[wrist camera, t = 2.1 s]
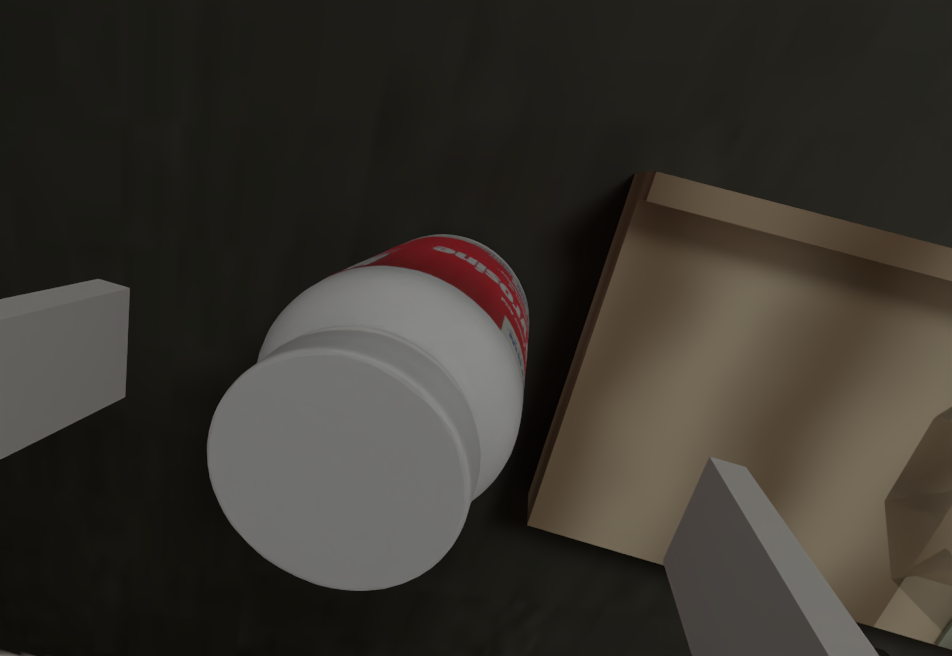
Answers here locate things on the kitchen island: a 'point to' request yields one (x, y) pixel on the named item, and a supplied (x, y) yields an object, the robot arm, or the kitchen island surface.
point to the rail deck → (766, 393)
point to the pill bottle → (375, 414)
